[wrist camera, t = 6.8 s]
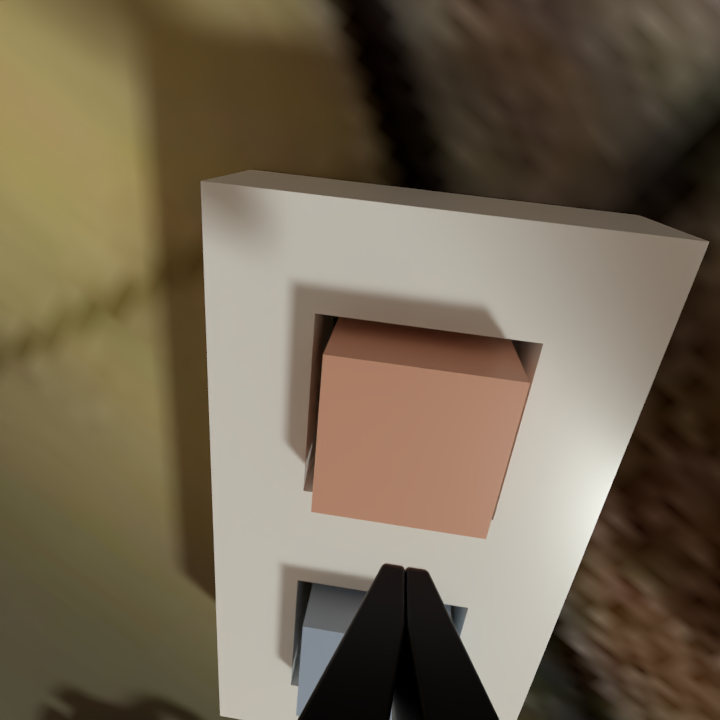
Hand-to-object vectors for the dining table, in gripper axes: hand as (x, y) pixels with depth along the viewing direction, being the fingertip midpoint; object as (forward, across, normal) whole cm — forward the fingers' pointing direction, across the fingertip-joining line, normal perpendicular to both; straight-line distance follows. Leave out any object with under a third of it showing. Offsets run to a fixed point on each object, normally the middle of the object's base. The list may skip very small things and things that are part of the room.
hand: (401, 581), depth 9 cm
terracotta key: (+7, 0, 0) cm, 7 cm away
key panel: (+10, 0, +5) cm, 11 cm away
